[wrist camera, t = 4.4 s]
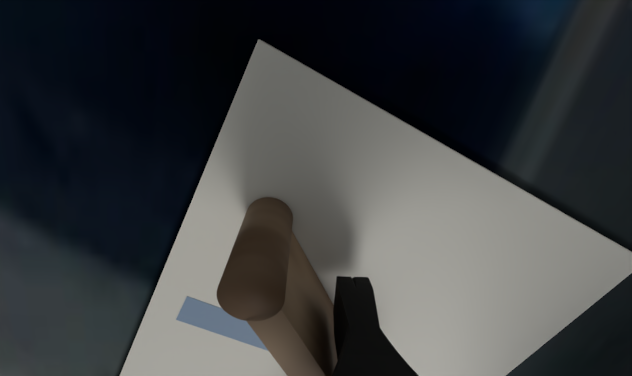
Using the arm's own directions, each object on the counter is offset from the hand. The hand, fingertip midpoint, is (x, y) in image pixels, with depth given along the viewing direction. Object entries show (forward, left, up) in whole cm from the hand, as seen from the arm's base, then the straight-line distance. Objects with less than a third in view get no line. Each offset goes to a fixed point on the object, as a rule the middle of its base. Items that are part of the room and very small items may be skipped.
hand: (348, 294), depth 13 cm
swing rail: (0, +2, -1) cm, 3 cm away
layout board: (-2, +5, -2) cm, 6 cm away
